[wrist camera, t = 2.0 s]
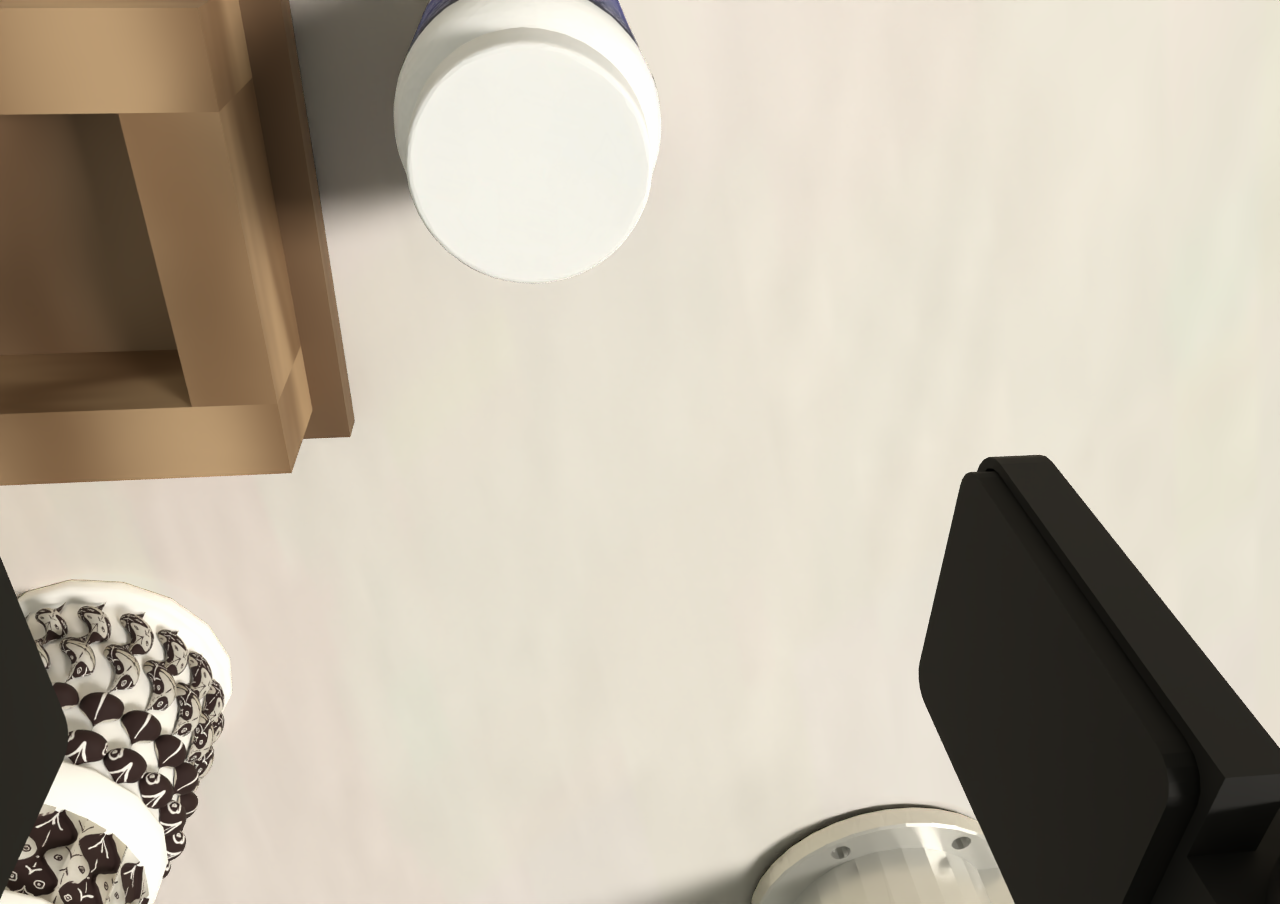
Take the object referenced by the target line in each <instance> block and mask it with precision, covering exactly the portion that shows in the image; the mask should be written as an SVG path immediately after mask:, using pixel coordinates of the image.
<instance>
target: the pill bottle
mask: <svg viewBox="0 0 1280 904" xmlns="http://www.w3.org/2000/svg"><path fill="white" fill-rule="evenodd" d="M394 129H395V138H396V143H397V148H398V152H399V155H400V159H401V161H402V164H403V167H404V170H405V172H406V175H407V180H408V186H409V190H410V194H411V197H412V200H413V202H414V205H415V207H416V209H417V212H418V214H419V216H420V218H421V219H422V221H423V223H424V224H425V226H426V227H427V229H428V230H429V231H430V233H431V234H432V235H433V237H434V238H435V239H436V240H437V241H438V242H439V243H440V244H441V245H442V246H443V247H444V248H445V249H446V250H447V251H448V252H449V253H450V254H451V255H453V256H454V257H455V258H457V259H458V260H459V261H461V262H462V263H464V264H465V265H467V266H469V267H470V268H472V269H474V270H476V271H478V272H481V273H483V274H485V275H488V276H490V277H493V278H496V279H501V280H505V281H510V282H517V283H530V284H536V283H548V282H554V281H559V280H564V279H567V278H570V277H573V276H577V275H579V274H581V273H583V272H585V271H587V270H589V269H591V268H593V267H594V266H596V265H598V264H599V263H601V262H602V261H603V260H605V259H606V258H607V257H609V256H610V255H611V254H612V253H613V252H615V251H616V249H617V248H618V247H619V246H620V245H621V244H622V243H623V242H624V241H625V240H626V238H627V237H628V236H629V234H630V233H631V231H632V230H633V228H634V227H635V225H636V224H637V222H638V220H639V218H640V216H641V214H642V212H643V209H644V207H645V205H646V202H647V199H648V195H649V191H650V186H651V180H652V174H653V171H654V168H655V165H656V161H657V157H658V153H659V147H660V139H661V112H660V103H659V98H658V93H657V89H656V85H655V81H654V78H653V76H652V74H651V71H650V69H649V66H648V64H647V62H646V60H645V58H644V56H643V54H642V52H641V50H640V48H639V46H638V43H637V41H636V39H635V37H634V34H633V32H632V30H631V27H630V24H629V22H628V20H627V18H626V16H625V13H624V11H623V9H622V7H621V5H620V3H619V1H618V0H430V1H429V3H428V5H427V7H426V9H425V11H424V13H423V16H422V19H421V21H420V24H419V26H418V29H417V31H416V33H415V36H414V38H413V41H412V43H411V45H410V48H409V50H408V52H407V55H406V57H405V60H404V62H403V65H402V68H401V71H400V74H399V78H398V82H397V87H396V92H395V100H394Z"/></svg>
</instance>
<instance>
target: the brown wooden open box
mask: <svg viewBox="0 0 1280 904" xmlns="http://www.w3.org/2000/svg"><path fill="white" fill-rule="evenodd" d="M354 421H355V420H354V414H353V407H352V401H351V394H350V388H349V382H348V375H347V369H346V362H345V356H344V350H343V343H342V337H341V330H340V324H339V318H338V311H337V305H336V298H335V292H334V286H333V279H332V273H331V266H330V260H329V254H328V247H327V241H326V234H325V228H324V222H323V215H322V209H321V202H320V196H319V190H318V183H317V177H316V170H315V164H314V158H313V151H312V145H311V138H310V132H309V126H308V119H307V113H306V106H305V100H304V94H303V87H302V81H301V74H300V68H299V62H298V55H297V49H296V42H295V36H294V30H293V23H292V17H291V10H290V4H289V0H0V486H1V485H25V484H48V483H71V482H94V481H117V480H141V479H164V478H187V477H210V476H233V475H256V474H280V473H292V470H293V467H294V464H295V461H296V458H297V455H298V452H299V449H300V446H301V443H302V440H303V439H310V438H335V437H350V436H351V432H352V429H353V425H354Z"/></svg>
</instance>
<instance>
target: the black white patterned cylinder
mask: <svg viewBox="0 0 1280 904" xmlns="http://www.w3.org/2000/svg"><path fill="white" fill-rule="evenodd" d="M18 602H19V604H20V607H21V609H22V612H23V614H24V616H25V619H26V621H27V624H28V626H29V629H30V631H31V634H32V636H33V639H34V641H35V643H36V646H37V648H38V651H39V653H40V656H41V658H42V661H43V663H44V666H45V668H46V671H47V673H48V675H49V678H50V680H51V683H52V685H53V688H54V690H55V693H56V695H57V698H58V700H59V702H60V705H61V707H62V710H63V712H64V715H65V717H66V721H67V725H68V745H67V750H66V754H65V757H64V760H63V762H62V764H61V767H60V769H59V771H58V773H57V775H56V778H55V780H54V782H53V784H52V786H51V789H50V791H49V793H48V795H47V797H46V800H45V802H44V804H43V806H42V808H41V811H40V813H39V815H38V817H37V819H36V822H35V824H34V826H33V828H32V830H31V833H30V835H29V837H28V839H27V841H26V844H25V846H24V848H23V850H22V852H21V855H20V857H19V859H18V861H17V863H16V866H15V868H14V870H13V872H12V874H11V877H10V879H9V881H8V883H7V885H6V888H5V890H4V892H3V894H2V896H1V899H0V904H153V903H154V901H155V899H156V896H157V893H158V890H159V887H160V884H161V881H162V879H164V878H165V877H166V876H167V875H168V873H169V871H170V868H171V865H170V861H171V860H173V859H175V858H177V857H178V856H179V855H180V854H181V853H182V851H183V850H184V847H185V844H186V838H185V835H184V834H183V832H182V830H183V827H184V825H185V822H186V818H188V817H190V816H191V815H192V814H193V813H194V812H195V810H196V808H197V806H198V798H197V796H196V795H195V794H194V792H195V791H196V790H197V788H198V785H199V782H200V780H201V779H202V778H203V777H204V776H205V775H206V774H207V773H208V771H209V769H210V768H211V766H212V763H213V759H214V749H213V747H212V744H213V743H214V742H215V741H216V740H217V739H218V738H219V736H220V734H221V732H222V730H223V727H224V716H223V714H222V711H223V710H224V708H225V706H226V704H227V702H228V700H229V698H230V696H231V693H232V677H231V664H230V657H229V655H228V654H227V652H226V651H225V649H224V648H223V646H222V644H221V643H220V641H219V640H218V638H217V637H216V635H215V634H214V632H213V631H212V629H211V627H210V626H209V625H208V624H207V623H205V622H204V621H202V620H201V619H200V618H198V617H197V616H195V615H194V614H193V613H191V612H190V611H188V610H187V609H186V608H184V607H183V606H181V605H180V604H179V603H177V602H176V601H175V600H173V599H172V598H169V597H166V596H163V595H160V594H157V593H154V592H151V591H148V590H145V589H142V588H139V587H136V586H133V585H130V584H127V583H124V582H109V581H88V580H69V581H65V582H62V583H58V584H54V585H50V586H47V587H43V588H39V589H35V590H31V591H28V592H26V593H25V594H23V595H22V596H21V597H20V598H18Z"/></svg>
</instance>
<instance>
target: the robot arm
mask: <svg viewBox="0 0 1280 904" xmlns="http://www.w3.org/2000/svg"><path fill="white" fill-rule="evenodd" d="M919 684H920V690H921V694H922V697H923V700H924V703H925V705H926V707H927V709H928V712H929V714H930V716H931V718H932V721H933V723H934V725H935V727H936V730H937V732H938V734H939V736H940V738H941V741H942V743H943V745H944V747H945V750H946V752H947V754H948V756H949V758H950V761H951V763H952V765H953V767H954V770H955V772H956V774H957V776H958V778H959V781H960V783H961V785H962V787H963V790H964V792H965V794H966V796H967V799H968V801H969V803H970V805H971V807H972V810H973V812H974V814H975V816H976V819H977V820H974V819H972V818H969V817H967V816H964V815H962V814H959V813H954V812H949V811H945V810H940V809H932V808H915V807H910V808H896V809H885V810H880V811H875V812H870V813H865V814H860V815H857V816H854V817H851V818H848V819H845V820H842V821H839V822H836V823H833V824H831V825H829V826H827V827H825V828H823V829H821V830H819V831H816V832H814V833H812V834H811V835H809V836H807V837H806V838H804V839H803V840H801V841H800V842H798V843H797V844H795V845H793V846H792V847H791V848H789V849H788V850H787V851H786V852H785V853H784V854H783V855H782V856H780V857H779V858H778V859H777V860H776V861H775V862H774V863H773V864H772V865H771V866H770V868H769V869H768V870H767V872H766V873H765V874H764V875H763V877H762V878H761V879H760V881H759V883H758V885H757V888H756V890H755V892H754V894H753V897H752V902H751V904H1280V748H1279V747H1278V746H1277V744H1276V743H1275V742H1274V740H1273V739H1272V738H1271V737H1270V735H1269V734H1268V733H1267V732H1266V730H1265V729H1264V728H1263V727H1262V725H1261V724H1260V723H1259V722H1258V720H1257V719H1256V718H1255V717H1254V715H1253V714H1252V713H1251V712H1250V710H1249V709H1248V708H1247V707H1246V705H1245V704H1244V703H1243V701H1242V700H1241V699H1240V698H1239V696H1238V695H1237V694H1236V693H1235V691H1234V690H1233V689H1232V688H1231V686H1230V685H1229V684H1228V683H1227V681H1226V680H1225V679H1224V678H1223V676H1222V675H1221V674H1220V673H1219V671H1218V670H1217V669H1216V668H1215V666H1214V665H1213V664H1212V662H1211V661H1210V660H1209V659H1208V657H1207V656H1206V655H1205V654H1204V652H1203V651H1202V650H1201V649H1200V647H1199V646H1198V645H1197V644H1196V642H1195V641H1194V640H1193V639H1192V637H1191V636H1190V635H1189V634H1188V632H1187V631H1186V630H1185V628H1184V627H1183V626H1182V625H1181V623H1180V622H1179V621H1178V620H1177V618H1176V617H1175V616H1174V615H1173V613H1172V612H1171V611H1170V610H1169V608H1168V607H1167V606H1166V605H1165V603H1164V602H1163V601H1162V600H1161V598H1160V597H1159V596H1158V595H1157V593H1156V592H1155V591H1154V589H1153V588H1152V587H1151V586H1150V584H1149V583H1148V582H1147V581H1146V579H1145V578H1144V577H1143V576H1142V574H1141V573H1140V572H1139V571H1138V569H1137V568H1136V567H1135V566H1134V564H1133V563H1132V562H1131V561H1130V559H1129V558H1128V557H1127V556H1126V554H1125V553H1124V552H1123V550H1122V549H1121V548H1120V547H1119V545H1118V544H1117V543H1116V542H1115V540H1114V539H1113V538H1112V537H1111V535H1110V534H1109V533H1108V532H1107V530H1106V529H1105V528H1104V527H1103V525H1102V524H1101V523H1100V522H1099V520H1098V519H1097V518H1096V516H1095V515H1094V514H1093V513H1092V511H1091V510H1090V509H1089V508H1088V506H1087V505H1086V504H1085V503H1084V501H1083V500H1082V499H1081V498H1080V496H1079V495H1078V494H1077V493H1076V491H1075V490H1074V489H1073V488H1072V486H1071V485H1070V484H1069V483H1068V481H1067V480H1066V479H1065V477H1064V476H1063V475H1062V474H1061V472H1060V471H1059V470H1058V469H1057V467H1056V466H1055V465H1054V464H1053V462H1052V461H1051V460H1049V459H1048V458H1047V457H1046V456H1042V455H1027V456H1004V457H988V458H986V459H984V460H983V461H982V463H981V464H980V466H979V468H978V471H977V472H969V473H967V474H966V475H965V476H964V478H963V479H962V482H961V485H960V489H959V493H958V498H957V502H956V506H955V511H954V515H953V520H952V524H951V528H950V533H949V537H948V541H947V546H946V550H945V554H944V559H943V563H942V567H941V572H940V576H939V581H938V585H937V589H936V594H935V598H934V602H933V607H932V611H931V615H930V620H929V624H928V628H927V633H926V637H925V642H924V646H923V650H922V655H921V659H920V664H919ZM67 745H68V725H67V721H66V717H65V715H64V712H63V710H62V707H61V705H60V702H59V700H58V698H57V695H56V693H55V690H54V688H53V685H52V683H51V680H50V678H49V675H48V673H47V671H46V668H45V666H44V663H43V661H42V658H41V656H40V653H39V651H38V648H37V646H36V643H35V641H34V639H33V636H32V634H31V631H30V629H29V626H28V624H27V621H26V619H25V616H24V614H23V612H22V609H21V607H20V604H19V602H18V599H17V597H16V594H15V592H14V589H13V587H12V585H11V582H10V580H9V577H8V575H7V572H6V570H5V567H4V565H3V562H2V560H1V558H0V899H1V896H2V894H3V892H4V890H5V888H6V885H7V883H8V881H9V879H10V877H11V874H12V872H13V870H14V868H15V866H16V863H17V861H18V859H19V857H20V855H21V852H22V850H23V848H24V846H25V844H26V841H27V839H28V837H29V835H30V833H31V830H32V828H33V826H34V824H35V822H36V819H37V817H38V815H39V813H40V811H41V808H42V806H43V804H44V802H45V800H46V797H47V795H48V793H49V791H50V789H51V786H52V784H53V782H54V780H55V778H56V775H57V773H58V771H59V769H60V767H61V764H62V762H63V760H64V757H65V754H66V750H67Z"/></svg>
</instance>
